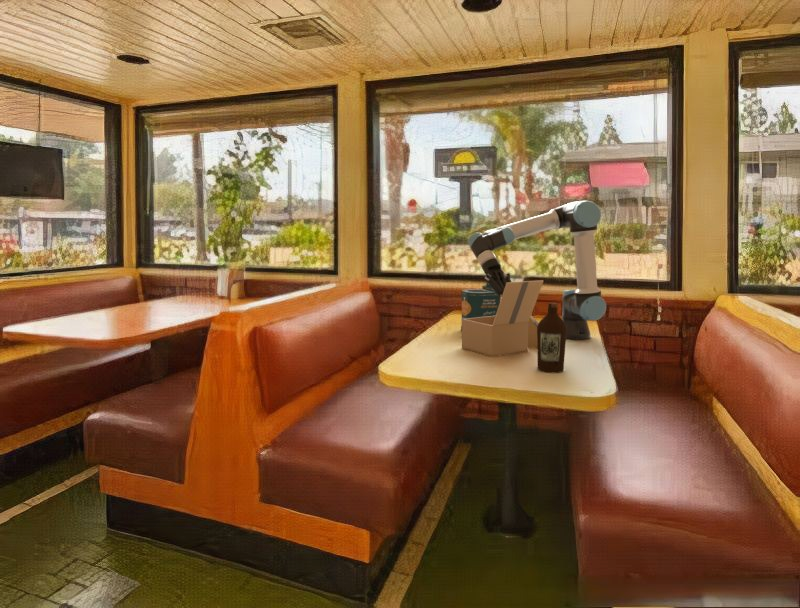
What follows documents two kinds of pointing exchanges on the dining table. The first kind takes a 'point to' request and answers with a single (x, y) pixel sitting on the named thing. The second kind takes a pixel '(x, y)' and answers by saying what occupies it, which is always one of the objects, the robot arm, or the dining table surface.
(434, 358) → the dining table surface
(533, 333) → the sandwich container
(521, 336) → the carton
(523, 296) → the lid flap
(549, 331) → the olive oil
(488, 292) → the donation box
